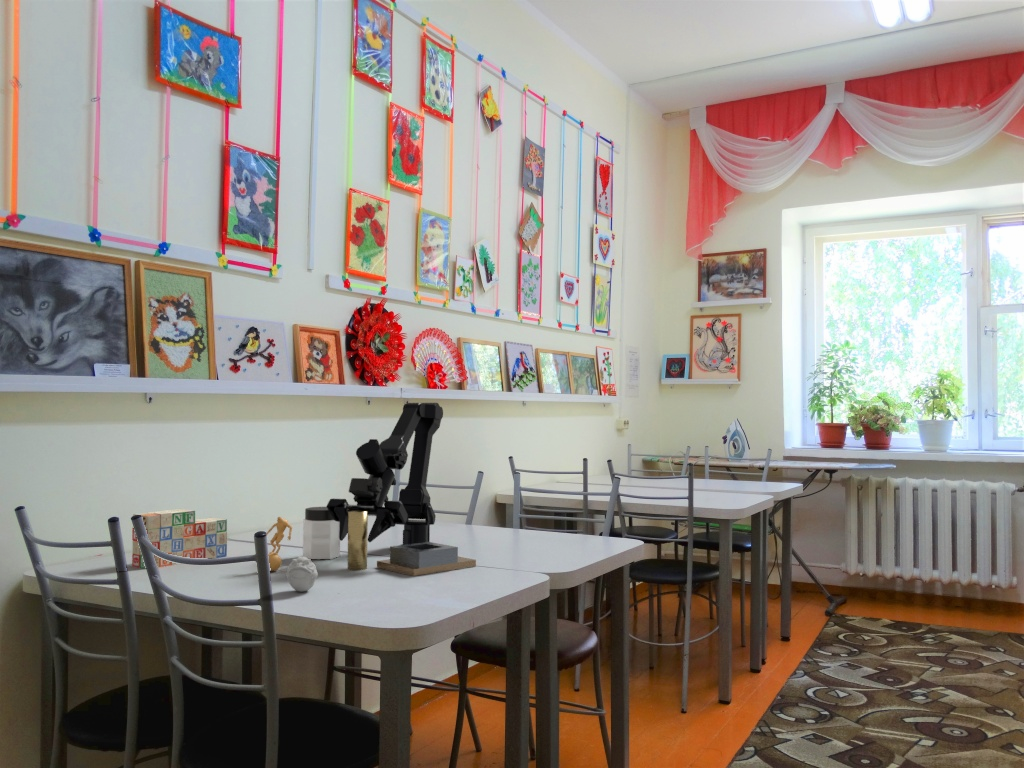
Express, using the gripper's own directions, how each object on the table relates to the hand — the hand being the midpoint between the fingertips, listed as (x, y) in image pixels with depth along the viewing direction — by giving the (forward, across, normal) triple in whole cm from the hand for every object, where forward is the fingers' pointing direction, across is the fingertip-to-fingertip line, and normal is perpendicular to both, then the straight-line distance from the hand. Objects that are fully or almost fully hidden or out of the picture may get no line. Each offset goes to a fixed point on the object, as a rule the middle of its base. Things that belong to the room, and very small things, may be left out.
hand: (354, 540), depth 190 cm
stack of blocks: (+7, -44, +2) cm, 45 cm away
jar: (-4, -16, +14) cm, 21 cm away
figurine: (+10, -16, 0) cm, 19 cm away
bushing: (+4, 0, +6) cm, 7 cm away
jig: (-1, +14, +11) cm, 18 cm away
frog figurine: (+22, +2, -13) cm, 26 cm away
